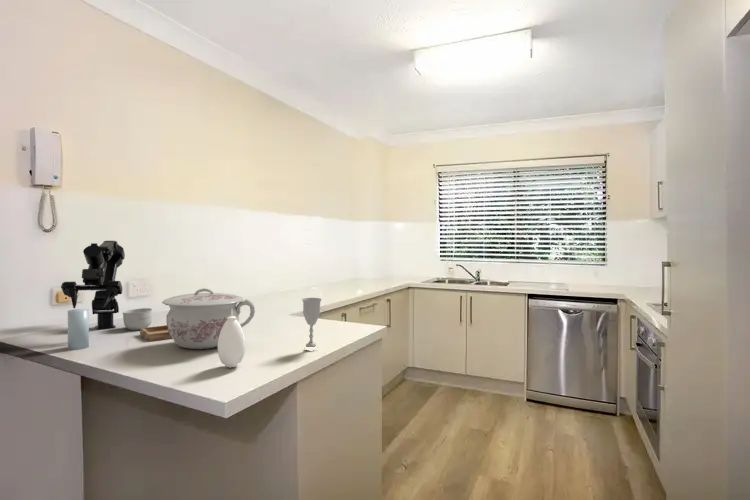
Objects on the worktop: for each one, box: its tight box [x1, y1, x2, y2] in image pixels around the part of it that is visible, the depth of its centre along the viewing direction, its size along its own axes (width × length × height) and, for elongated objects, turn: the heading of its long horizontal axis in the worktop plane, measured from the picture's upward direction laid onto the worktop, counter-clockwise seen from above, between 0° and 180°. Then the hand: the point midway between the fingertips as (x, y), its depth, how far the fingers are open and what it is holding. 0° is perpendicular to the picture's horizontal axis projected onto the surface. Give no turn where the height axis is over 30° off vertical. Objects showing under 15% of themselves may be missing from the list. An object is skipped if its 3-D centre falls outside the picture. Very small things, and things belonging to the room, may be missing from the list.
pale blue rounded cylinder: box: [67, 308, 90, 351], centre depth 145 cm, size 6×6×13 cm
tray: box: [139, 324, 173, 343], centre depth 164 cm, size 14×12×3 cm
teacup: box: [122, 307, 153, 331], centre depth 178 cm, size 14×11×8 cm
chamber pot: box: [161, 287, 256, 351], centre depth 152 cm, size 28×28×21 cm
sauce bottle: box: [217, 309, 246, 368], centre depth 127 cm, size 8×8×18 cm
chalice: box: [301, 297, 323, 347], centre depth 148 cm, size 7×7×18 cm
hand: (88, 307), depth 153 cm, fingers open, 9 cm apart
